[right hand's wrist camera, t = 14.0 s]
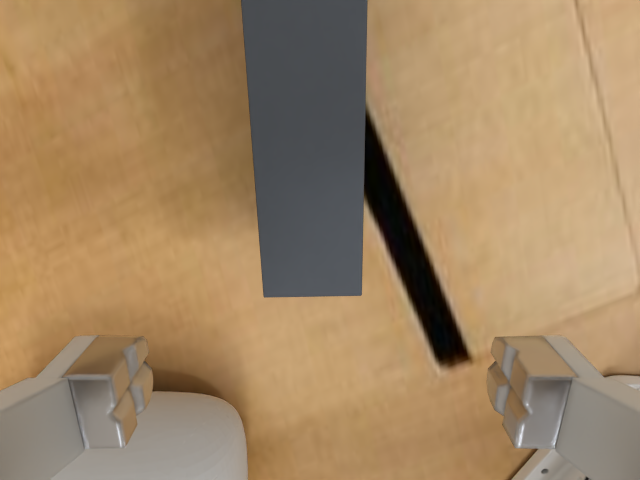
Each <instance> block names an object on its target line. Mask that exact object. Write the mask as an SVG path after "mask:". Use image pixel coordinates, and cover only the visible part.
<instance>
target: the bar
mask: <svg viewBox="0 0 640 480" xmlns="http://www.w3.org/2000/svg"><path fill="white" fill-rule="evenodd" d="M241 6H242V19H243V32H244V45H245V58H246V72H247V85H248V98H249V111H250V124H251V137H252V150H253V163H254V177H255V190H256V203H257V216H258V229H259V242H260V255H261V268H262V281H263V295H264V297H314V296H361V295H362V256H363V203H364V151H365V98H366V45H367V0H241Z"/></svg>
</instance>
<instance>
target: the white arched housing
mask: <svg viewBox="0 0 640 480" xmlns="http://www.w3.org/2000/svg"><path fill="white" fill-rule="evenodd" d="M136 418H137V424H138V425H137V427H136V429H135V431H134V432H133V434H132V436H131V438H130V440H129V442H128V444H127V445H126V447H125V448H109V449H85V452H83V453H82V454H81V455H80V456H78V457H77V458H76V459H75V460H73V461H72V462H71V463H70V464H68V465H67V466H66V467H65V468H63V469H62V470H61V471H60V472H59V473H57V474H56V475H55V476H54V477H52V478H51V479H50V480H248V461H247V446H246V437H245V432H244V427H243V424H242V420H241V418H240V416H239V414H238V412H237V411H236V409H235V408H234V407H233V406H232V405H231V404H230V403H228V402H227V401H225V400H223V399H221V398H218V397H214V396H211V395H206V394H199V393H190V392H165V391H154V392H152V394H151V399H150V402H149V404H148V406H147V408H146V410H145V411H143V412H142V413H140V414H139V415H137V416H136Z"/></svg>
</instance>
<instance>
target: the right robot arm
mask: <svg viewBox="0 0 640 480" xmlns="http://www.w3.org/2000/svg"><path fill="white" fill-rule="evenodd" d="M148 354H149V348H148V343H147V340H146V339H145V338H144V337H143V336H104V335H102V336H99V335H80V336H76V337H74V338H73V339H72V340H71V341H70V342H69V343H68V344H67V345H66V346H65V347H64V349H63V350H62V351H61V352H60V353H59V354H58V355H57V356H56V357H55V358H54V359H53V360H52V361H51V362H50V363H49V364H48V365H47V366H46V367H45V368H44V369H43V370H42V371H41V372H40V373H39V374H38V376H37V377H36V378H27V379H25V380H22V381H20V382H18V383H16V384H14V385H12V386H9V387H7V388H5V389H3V390H1V391H0V480H50V479H51V478H52V477H54V476H55V475H56V474H57V473H59V472H60V471H61V470H62V469H63V468H65V467H66V466H67V465H68V464H70V463H71V462H72V461H73V460H75V459H76V458H77V457H78V456H80V455H81V454H82V453H83V452H85V449H109V448H125V447H126V445H127V444H128V442H129V440H130V438H131V436H132V434H133V432H134V431H135V429H136V427H137V425H138V424H137V418H136V416H137V415H139V414H140V413H142V412H143V411H145V410H146V408H147V406H148V404H149V402H150V399H151V394H152V390H153V373H152V368H151V367H150V366H149V365H148V364H147V363H146V362H145V361H144V360H145V359H146V357H147V355H148ZM491 354H492V355H493V357H494V359H495V360H496V361H495V362H494V363H493V364H492V365H491V366H490V367H489V368H488V374H487V390H488V395H489V399H490V402H491V404H492V406H493V408H494V410H495V411H497V412H498V413H500V414H501V415H503V416H504V418H503V424H502V425H503V427H504V429H505V431H506V432H507V434H508V436H509V438H510V440H511V442H512V444H513V445H514V447H515V448H530V449H538V450H537V451H536V452H535V453H534V454H533V456H532V457H531V458H530V459H529V460H528V461H527V462H526V463H525V465H524V466H523V467H522V468H521V469H520V470H519V471H518V473H517V474H516V475H515V476H514V477H513V478H512V479H511V480H640V376H630V375H614V376H608V377H605V378H604V377H603V375H602V374H601V373H600V372H599V371H598V370H597V369H596V368H595V367H594V366H593V365H592V364H591V363H590V362H589V361H588V360H587V359H586V358H585V357H584V356H583V355H582V354H581V353H580V352H579V351H578V349H577V348H576V347H575V346H574V345H573V344H572V343H571V342H570V341H569V340H568V339H567V338H566V337H564V336H561V335H547V336H517V337H495V339H494V341H493V343H492V348H491Z"/></svg>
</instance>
